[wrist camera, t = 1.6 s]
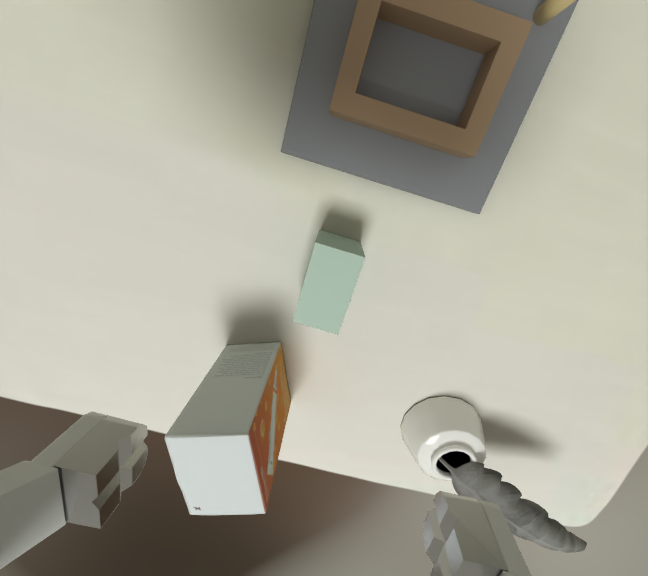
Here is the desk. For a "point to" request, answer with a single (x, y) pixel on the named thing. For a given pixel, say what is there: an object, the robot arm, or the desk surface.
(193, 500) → the small box
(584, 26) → the desk surface
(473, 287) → the desk surface
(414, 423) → the inkwell
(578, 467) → the desk surface
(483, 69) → the keyed plate
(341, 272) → the sage block
